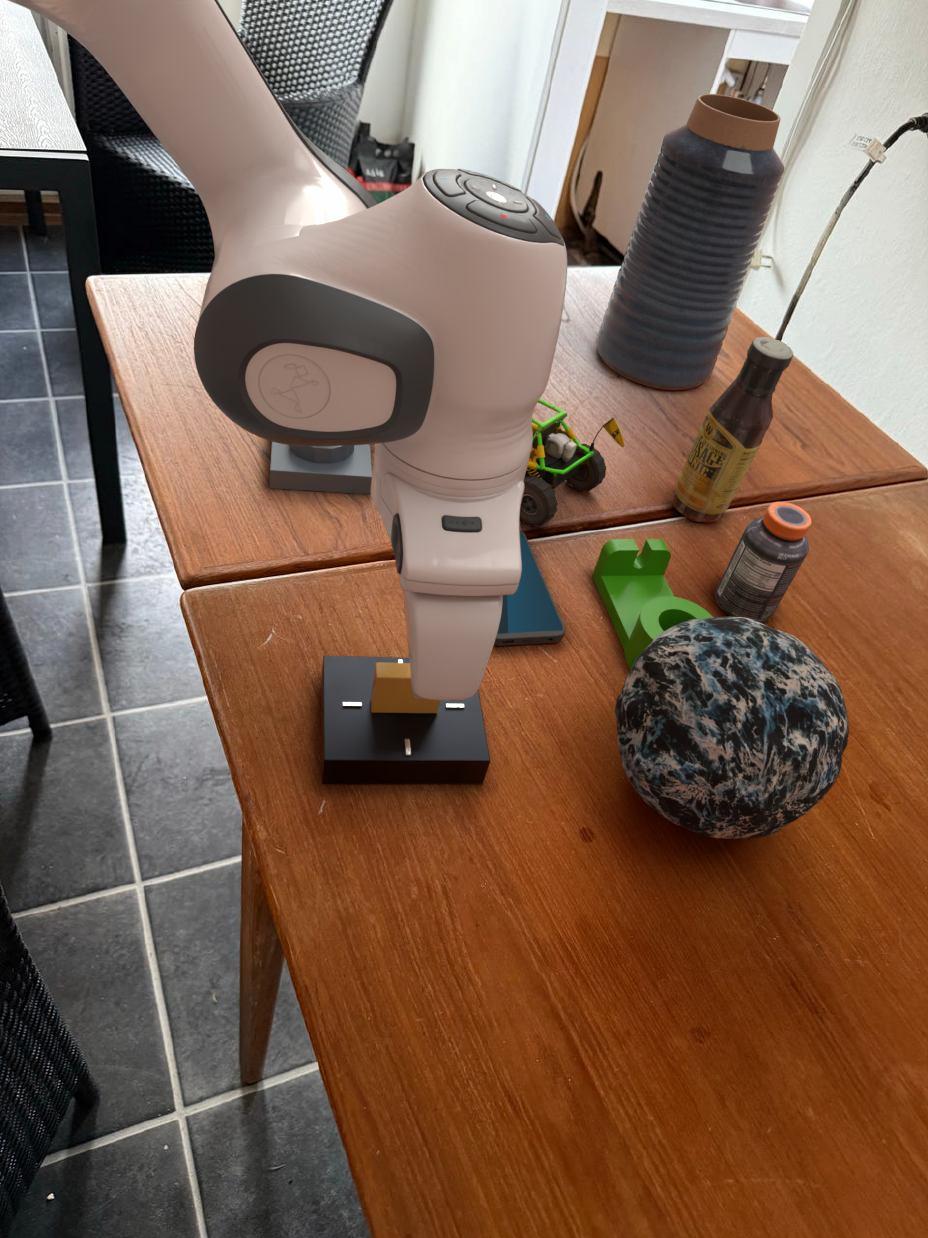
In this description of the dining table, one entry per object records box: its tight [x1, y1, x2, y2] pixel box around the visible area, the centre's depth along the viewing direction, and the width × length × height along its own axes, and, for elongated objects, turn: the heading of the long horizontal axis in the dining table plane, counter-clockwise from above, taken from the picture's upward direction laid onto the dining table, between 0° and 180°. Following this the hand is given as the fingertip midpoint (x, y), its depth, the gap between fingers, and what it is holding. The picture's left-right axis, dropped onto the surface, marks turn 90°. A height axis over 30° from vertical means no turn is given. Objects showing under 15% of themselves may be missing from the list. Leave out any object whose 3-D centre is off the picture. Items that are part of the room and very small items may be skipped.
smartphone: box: [494, 529, 566, 647], centre depth 82 cm, size 8×15×1 cm, turn 13°
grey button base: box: [269, 441, 373, 495], centre depth 90 cm, size 10×10×4 cm
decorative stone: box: [614, 615, 850, 840], centre depth 64 cm, size 16×16×15 cm
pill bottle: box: [714, 501, 812, 624], centre depth 82 cm, size 6×6×11 cm
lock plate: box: [320, 655, 491, 785], centre depth 67 cm, size 12×10×3 cm
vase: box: [595, 93, 786, 391], centre depth 110 cm, size 16×16×32 cm
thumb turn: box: [371, 662, 440, 713], centre depth 65 cm, size 5×2×4 cm, turn 97°
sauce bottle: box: [671, 336, 794, 524], centre depth 90 cm, size 6×6×20 cm
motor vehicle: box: [519, 398, 625, 528], centre depth 91 cm, size 12×19×11 cm, turn 51°
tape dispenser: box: [591, 538, 714, 670], centre depth 80 cm, size 15×7×5 cm, turn 11°
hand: (419, 638), depth 61 cm, fingers open, 8 cm apart
